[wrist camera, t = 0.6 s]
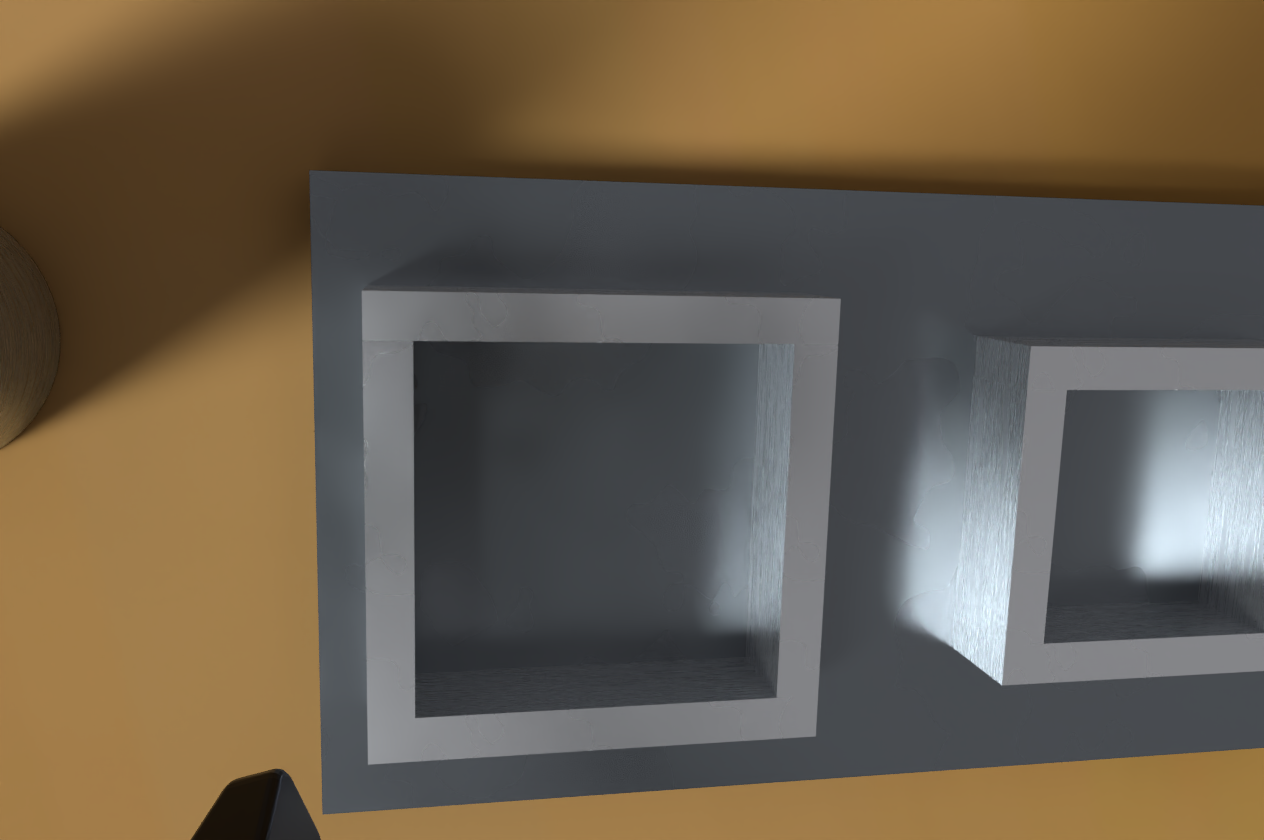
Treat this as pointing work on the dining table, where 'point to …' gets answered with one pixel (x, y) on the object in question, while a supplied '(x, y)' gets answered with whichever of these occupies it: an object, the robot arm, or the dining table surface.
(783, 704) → the fitting board
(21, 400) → the silver and red cylinder
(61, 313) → the dining table surface
